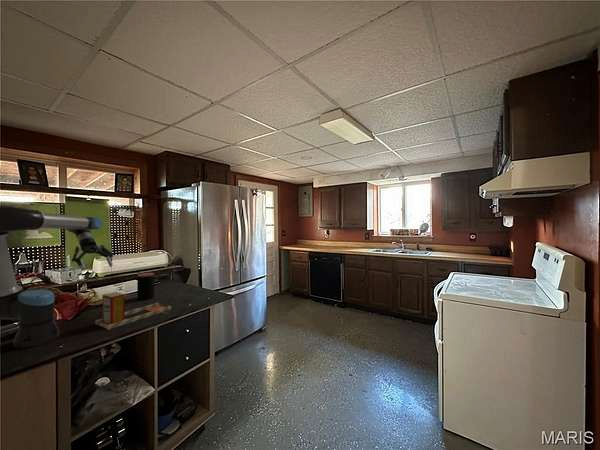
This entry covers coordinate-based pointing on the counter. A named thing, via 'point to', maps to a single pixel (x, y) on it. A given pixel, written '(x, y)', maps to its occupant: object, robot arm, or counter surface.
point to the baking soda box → (113, 308)
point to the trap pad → (155, 308)
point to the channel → (136, 316)
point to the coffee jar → (145, 286)
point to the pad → (103, 324)
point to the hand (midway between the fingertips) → (98, 267)
